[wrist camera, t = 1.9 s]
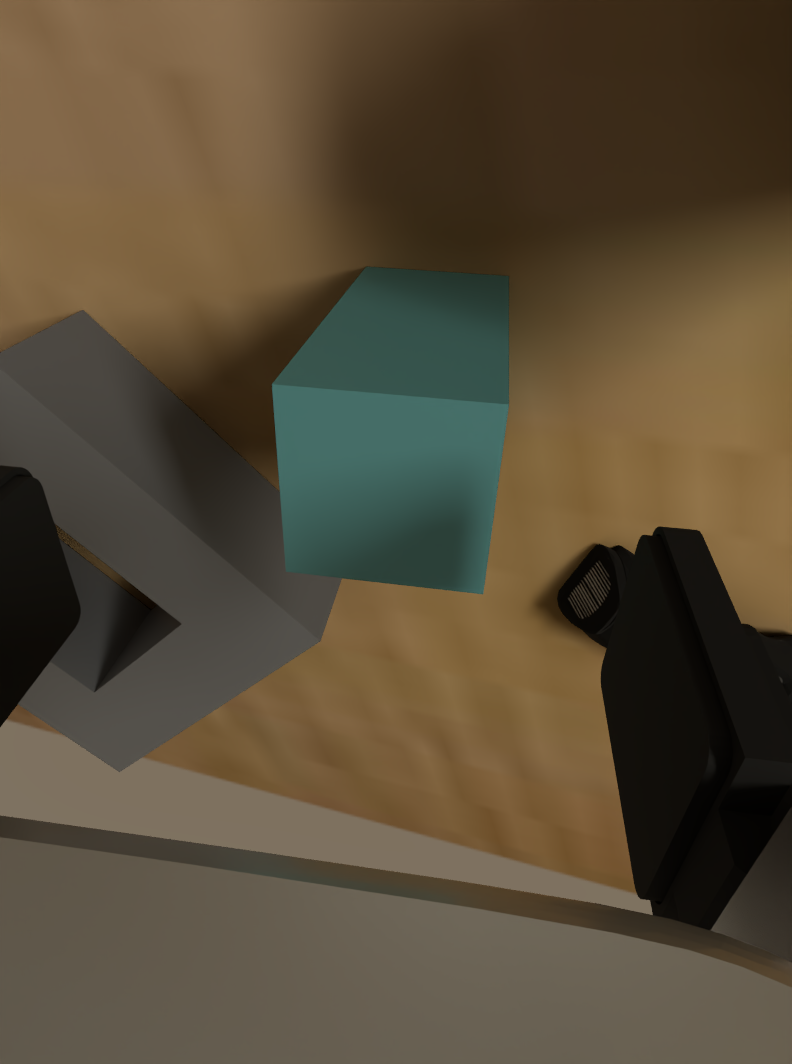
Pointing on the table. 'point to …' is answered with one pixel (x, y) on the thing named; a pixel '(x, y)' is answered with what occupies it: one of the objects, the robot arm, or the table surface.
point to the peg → (397, 431)
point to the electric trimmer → (599, 594)
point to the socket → (149, 546)
